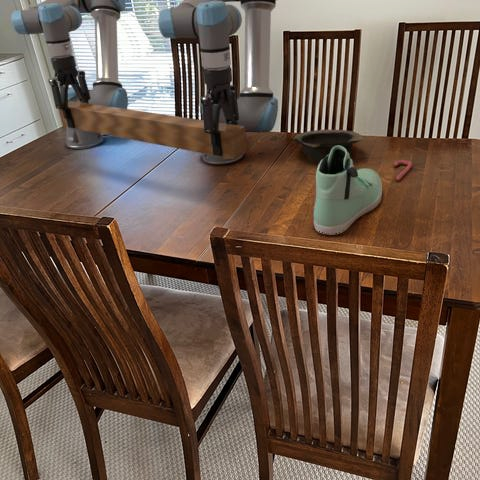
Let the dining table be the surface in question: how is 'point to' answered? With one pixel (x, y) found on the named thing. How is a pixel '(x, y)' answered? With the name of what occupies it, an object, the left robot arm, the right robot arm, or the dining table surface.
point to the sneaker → (343, 192)
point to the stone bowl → (325, 142)
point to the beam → (155, 128)
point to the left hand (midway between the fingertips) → (79, 124)
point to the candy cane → (404, 169)
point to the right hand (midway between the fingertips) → (224, 151)
